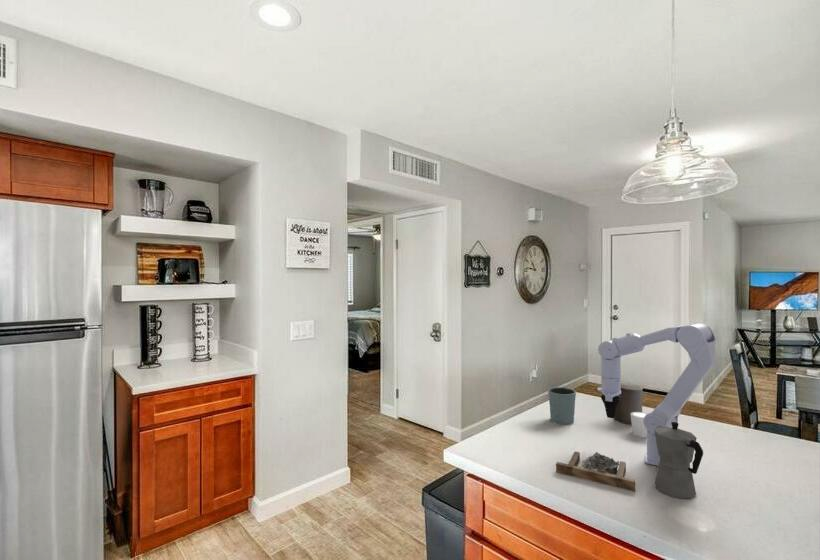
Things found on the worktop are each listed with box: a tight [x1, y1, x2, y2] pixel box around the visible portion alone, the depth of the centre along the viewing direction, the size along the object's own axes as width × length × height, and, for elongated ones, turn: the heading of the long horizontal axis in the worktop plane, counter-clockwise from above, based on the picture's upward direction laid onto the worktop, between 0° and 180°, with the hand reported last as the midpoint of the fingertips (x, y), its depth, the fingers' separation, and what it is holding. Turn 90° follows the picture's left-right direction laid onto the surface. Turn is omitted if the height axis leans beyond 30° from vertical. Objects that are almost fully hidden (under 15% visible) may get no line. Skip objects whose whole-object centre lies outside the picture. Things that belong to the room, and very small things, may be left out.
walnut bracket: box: [555, 451, 636, 492], centre depth 117 cm, size 20×12×2 cm, turn 58°
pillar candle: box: [614, 382, 644, 426], centre depth 159 cm, size 10×10×15 cm
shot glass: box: [631, 411, 648, 438], centre depth 146 cm, size 7×7×7 cm
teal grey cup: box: [547, 386, 577, 426], centre depth 159 cm, size 10×10×12 cm
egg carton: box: [581, 451, 620, 475], centre depth 118 cm, size 11×8×4 cm
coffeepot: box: [654, 422, 704, 500], centre depth 106 cm, size 15×9×18 cm, turn 6°
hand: (610, 417), depth 136 cm, fingers closed
